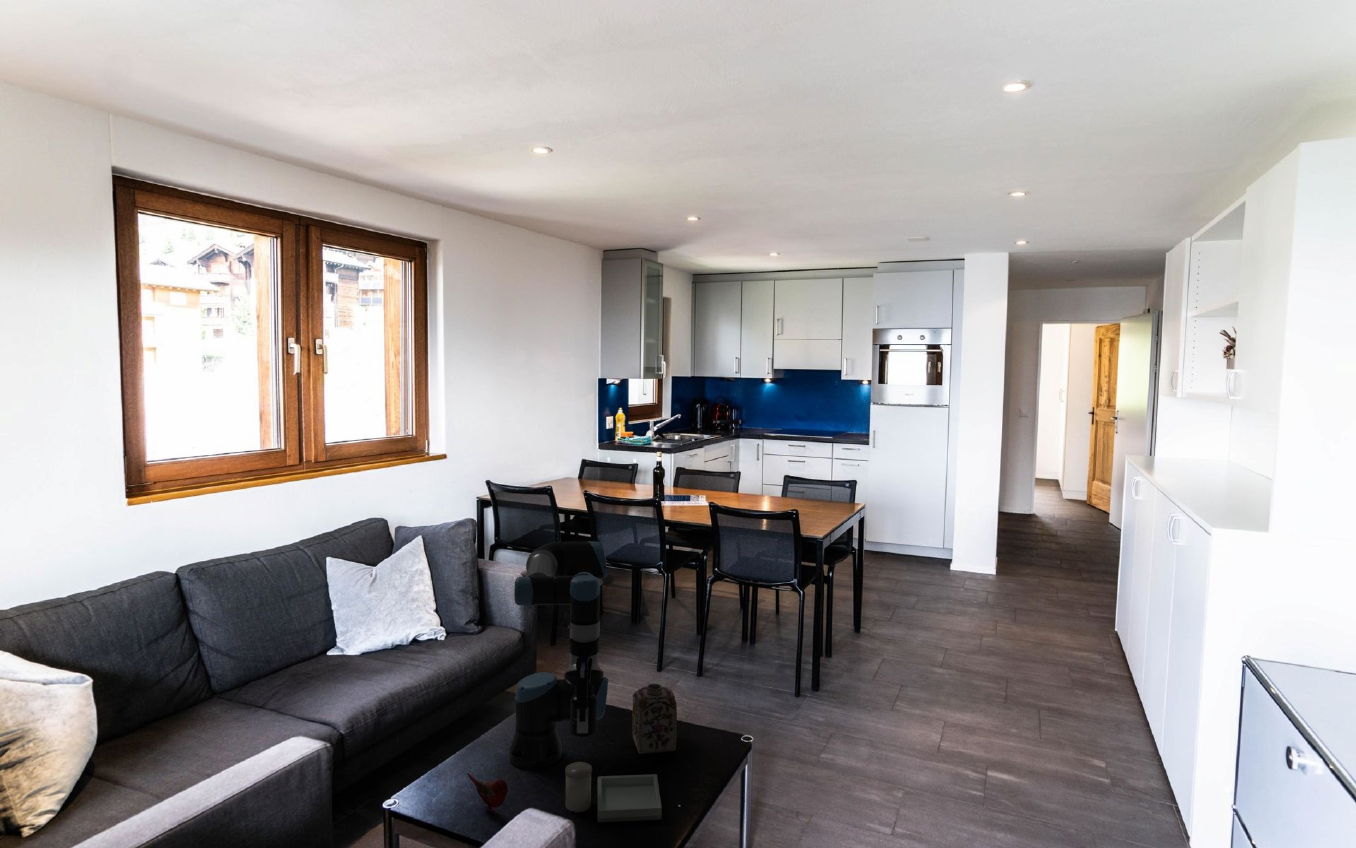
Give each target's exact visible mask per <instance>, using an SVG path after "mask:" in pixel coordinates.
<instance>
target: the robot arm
mask: <svg viewBox="0 0 1356 848" xmlns="http://www.w3.org/2000/svg"><path fill="white" fill-rule="evenodd" d="M525 569H526V575H524V576H518V577H516V578H515V581H514V591H513V592H514V603H515V605H517V606H526V607H530V606H551V605H552V606H555V605H556V606H557V605H559V606H560V605H563V606H564V605H568V606H569V611H570V612H569V614H570V615H569V624H568V625H567V628H568V629H569V667H568V668H567V669H566V670H565V672H564V676H563V678H562V679H558V677H557V675H556V674H555V673H552V672H548V671H547V672H543V671H541V672H537V673H533V674H530V675H527V676H525V677H524V678H522V679H520V680H519V681H518V683H517V684H516V690H515V697H514V699H515V732H514V735H513V738H512V741H511V744H510V747H509V752H508V753H509V755H508V756H509V759H508V760H509V762H510V763H511V764H512V765H513V766H515V767H518V768H521V769H527V770H537V769H543V768H547V767H550V766H553V765H554V764H556V763H558V762H559V761H560V759H561V758H562V755H563V746H562V742H561V740H560V737H559V734H558V731H557V723H558V722H562V723H563V722H570V702H571V698H572V696H573V695H575V693H574V691H575V685H576V684H577V706H574V709H577V733H588V683H591V684H593V686H594V693H593V694H594V695H595V696H596V698H597V721H598V720H601V719H602V718H603V717H604V715H605V712H606V708H607V707H606V705H607V697H608V689H609V678H608V677H606V676H605V675H604V670H603V669H602V668H600V666H599V652H600V638H599V637H600V635H601V633H600V630H601V629H600V627H601V625H600V624H601V622H600V621H601V620H600V610H601V608H600V607H601V605H600V604H601V603H600V602H601V586H602V585H603V583H604V579H606V578H607V577H608V568H607V556H606V552H605V547H604V544H603V543H602V542H600V541H590V540H587V541H553V542H549V543H545V544H543V545H541V546H539V547H537V548H535V549H533V550H532V552H530V554H529V555H528V557H527V559H526V563H525ZM604 676H605V677H604Z"/></svg>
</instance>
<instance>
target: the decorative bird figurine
mask: <svg viewBox="0 0 1356 848" xmlns="http://www.w3.org/2000/svg"><path fill="white" fill-rule="evenodd" d="M467 777H469V779H470V780H471V781H472V783H473V784H474V786H475V789H476V791H477V794H478V795H479V797H480V798H481V799H482V801H483V803H484V804H486V807H485V808H486V809H489V810H488V811H490V813H492V812H493V813H496V814H495V815H497V816H499V814H498V813H497V812H496V811H495V809H493V808H498V807H500V806H501V805H502V804H503V803H504V802H505V799H506V796H507V793H509V789H508V783H507V782H506V781H505V780H504V779H498V780H496V781H494V782H493V781H491V782H490V781H485V780H483V781H478V780H477V779H476V778H475V777H473V775H471V774H470V773H467ZM493 813H492V814H493Z"/></svg>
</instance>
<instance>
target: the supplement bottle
mask: <svg viewBox="0 0 1356 848" xmlns="http://www.w3.org/2000/svg"><path fill="white" fill-rule="evenodd" d="M574 693H575V695H573V696H572V698H571V702H570V721H569V732H570V734H571V735H573V736H575V737H579V738H587V737H591V736H592V735H595V733H596V731H597V721H598V720H597V698H596V696H595V695H594V694H593V693H594V686H593V684H591V683H588V733H577V709H574V706H577V684H576V685H575V691H574Z"/></svg>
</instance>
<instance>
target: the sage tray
mask: <svg viewBox="0 0 1356 848" xmlns="http://www.w3.org/2000/svg"><path fill="white" fill-rule="evenodd" d="M658 781H659V780H658V774H656V773H654V774H652V773H651V774H632V775H631V774H630V775H629V774H628V775H626V774H625V775H607V776H606V775H603V776H597V823H611V822H614V823H615V822H632V821H633V822H637V821H657V820H658V821H660V820H662V816H663V815H662V812H663V811H662V808H663V807H662V800H661V796H660V789H659V788H660V787H659V782H658Z"/></svg>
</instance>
